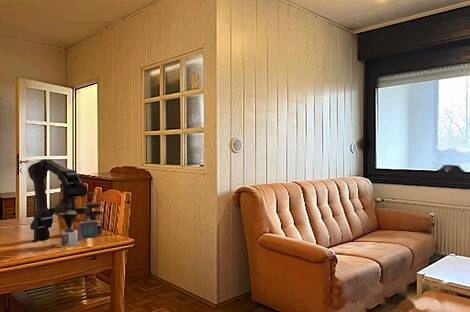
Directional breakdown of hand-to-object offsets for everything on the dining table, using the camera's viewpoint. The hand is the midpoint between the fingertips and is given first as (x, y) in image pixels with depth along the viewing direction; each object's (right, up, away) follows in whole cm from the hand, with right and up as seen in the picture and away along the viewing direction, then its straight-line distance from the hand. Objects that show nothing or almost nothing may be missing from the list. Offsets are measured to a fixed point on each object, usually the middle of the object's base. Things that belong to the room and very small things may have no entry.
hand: (69, 228), depth 174 cm
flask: (+4, -9, +14) cm, 17 cm away
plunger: (0, -6, 0) cm, 6 cm away
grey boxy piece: (0, -8, -1) cm, 8 cm away
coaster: (0, -8, 0) cm, 8 cm away
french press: (+2, -9, +26) cm, 27 cm away
